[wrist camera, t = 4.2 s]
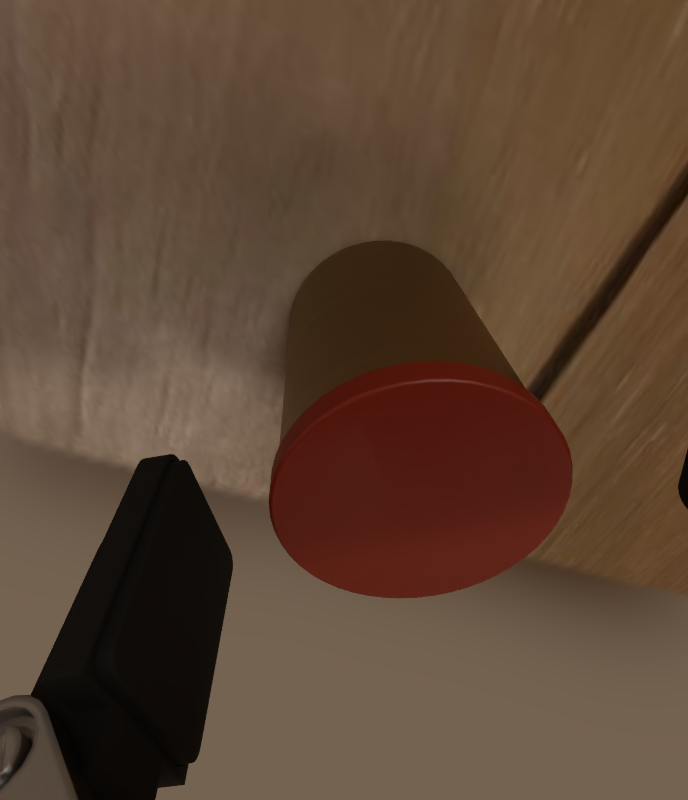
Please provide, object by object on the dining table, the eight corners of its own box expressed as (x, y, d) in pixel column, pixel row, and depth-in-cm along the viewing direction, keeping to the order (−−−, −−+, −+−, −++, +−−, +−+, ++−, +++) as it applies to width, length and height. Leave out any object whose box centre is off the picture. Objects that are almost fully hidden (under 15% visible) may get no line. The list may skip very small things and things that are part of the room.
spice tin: (308, 415, 16) (306, 617, 10) (264, 257, 13) (227, 415, 7) (471, 385, 16) (564, 576, 10) (463, 217, 13) (588, 349, 7)
